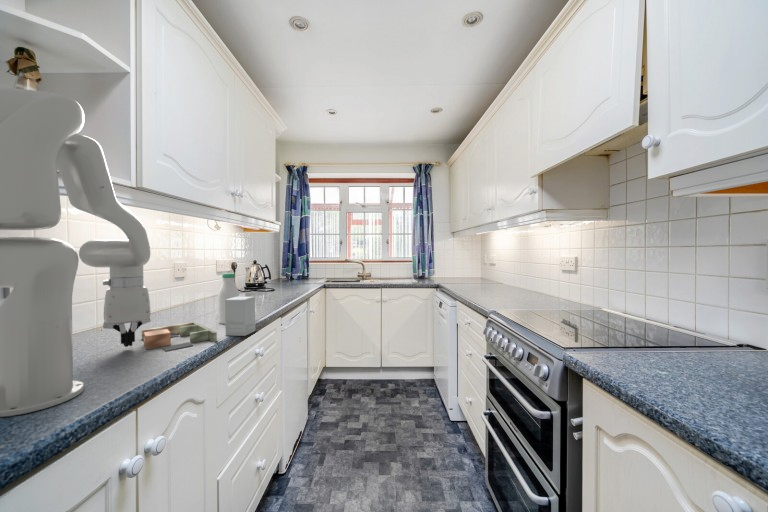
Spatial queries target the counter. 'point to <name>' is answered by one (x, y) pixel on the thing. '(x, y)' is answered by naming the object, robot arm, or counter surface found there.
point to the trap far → (173, 335)
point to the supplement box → (239, 316)
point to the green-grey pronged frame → (189, 331)
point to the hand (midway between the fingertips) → (127, 345)
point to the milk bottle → (226, 294)
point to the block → (157, 338)
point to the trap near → (177, 346)
